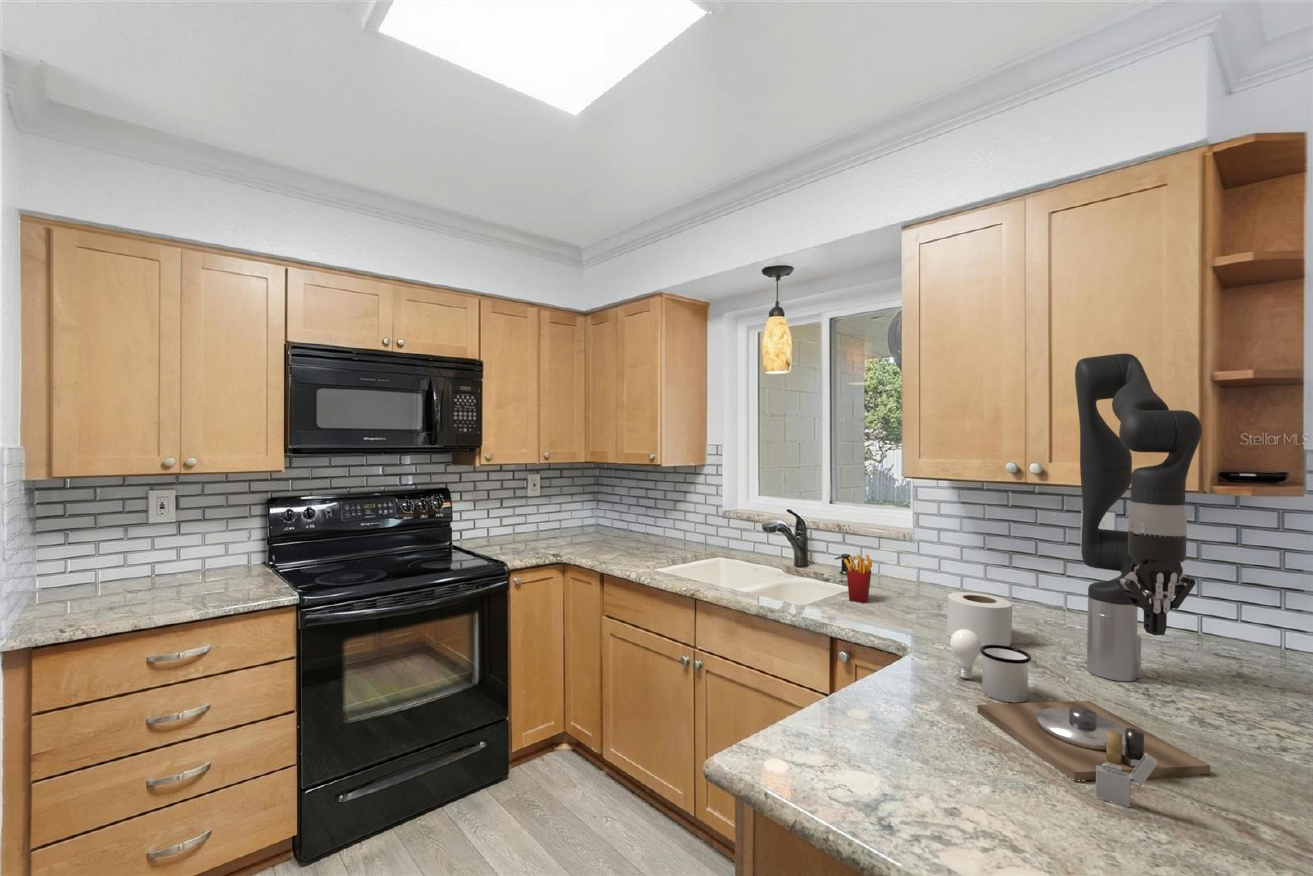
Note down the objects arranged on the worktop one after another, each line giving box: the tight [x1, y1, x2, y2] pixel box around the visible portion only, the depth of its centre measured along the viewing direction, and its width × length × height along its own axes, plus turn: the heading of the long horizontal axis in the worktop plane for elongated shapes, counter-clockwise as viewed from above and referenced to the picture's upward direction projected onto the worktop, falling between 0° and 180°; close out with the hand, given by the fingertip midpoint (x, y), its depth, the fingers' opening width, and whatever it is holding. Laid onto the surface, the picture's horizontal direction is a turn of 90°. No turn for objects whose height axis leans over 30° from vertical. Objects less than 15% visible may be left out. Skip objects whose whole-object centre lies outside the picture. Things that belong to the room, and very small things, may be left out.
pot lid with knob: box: [1037, 707, 1144, 766], centre depth 107 cm, size 19×14×5 cm
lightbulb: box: [949, 629, 982, 680], centre depth 136 cm, size 6×6×11 cm
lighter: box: [1095, 753, 1157, 808], centre depth 90 cm, size 7×2×8 cm, turn 55°
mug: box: [980, 645, 1032, 704], centre depth 129 cm, size 12×10×9 cm
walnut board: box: [976, 700, 1211, 782], centre depth 109 cm, size 24×24×6 cm
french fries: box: [843, 554, 873, 604], centre depth 202 cm, size 9×8×15 cm
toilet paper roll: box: [946, 591, 1013, 647], centre depth 165 cm, size 16×15×11 cm
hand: (1154, 633), depth 101 cm, fingers closed
